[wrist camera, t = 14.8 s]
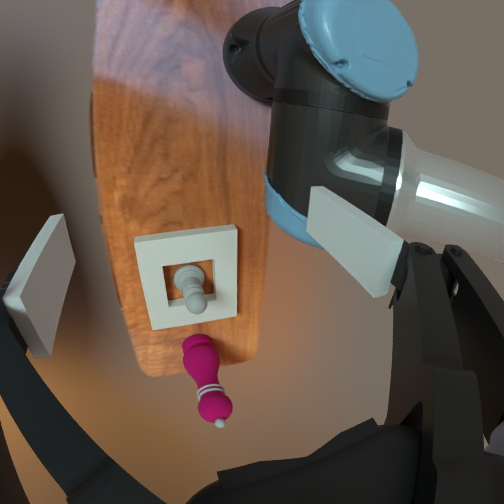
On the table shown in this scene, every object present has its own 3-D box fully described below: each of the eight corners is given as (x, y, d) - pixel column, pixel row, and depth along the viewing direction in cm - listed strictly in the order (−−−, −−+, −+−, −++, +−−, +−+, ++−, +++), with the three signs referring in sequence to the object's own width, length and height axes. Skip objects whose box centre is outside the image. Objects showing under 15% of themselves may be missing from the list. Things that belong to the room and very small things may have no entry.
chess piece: (191, 257, 49) (201, 290, 41) (209, 277, 52) (222, 310, 44) (166, 276, 49) (172, 310, 42) (186, 294, 52) (194, 329, 45)
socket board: (134, 236, 43) (134, 242, 42) (233, 224, 48) (237, 229, 46) (152, 322, 53) (152, 330, 51) (233, 309, 57) (236, 316, 56)
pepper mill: (179, 333, 56) (200, 420, 40) (215, 330, 58) (245, 413, 42) (179, 357, 59) (199, 438, 43) (212, 354, 62) (239, 432, 46)
